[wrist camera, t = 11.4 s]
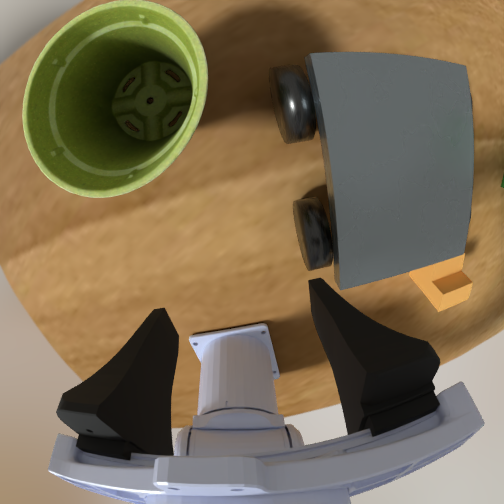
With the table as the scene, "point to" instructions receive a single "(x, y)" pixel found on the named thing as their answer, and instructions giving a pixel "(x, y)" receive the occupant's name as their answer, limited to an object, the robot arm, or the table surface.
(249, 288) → the table surface
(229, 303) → the table surface
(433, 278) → the orange stepped block
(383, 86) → the trolley
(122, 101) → the plant pot
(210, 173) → the table surface
